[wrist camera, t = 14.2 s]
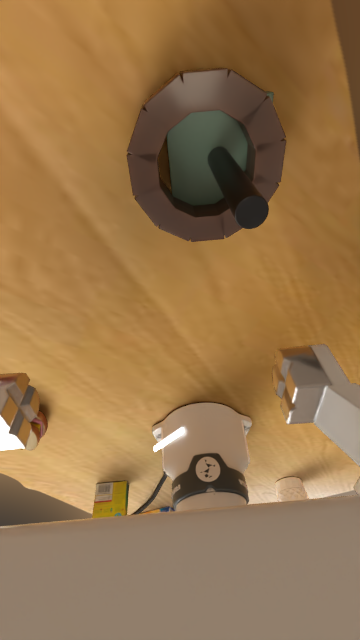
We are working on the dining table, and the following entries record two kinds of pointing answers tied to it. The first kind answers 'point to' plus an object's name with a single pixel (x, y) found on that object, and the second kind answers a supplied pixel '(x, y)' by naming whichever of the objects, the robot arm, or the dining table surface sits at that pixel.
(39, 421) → the toy sandwich meal
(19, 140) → the dining table surface
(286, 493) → the white cup
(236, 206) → the stand
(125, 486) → the crayon box
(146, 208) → the ring
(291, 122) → the dining table surface
